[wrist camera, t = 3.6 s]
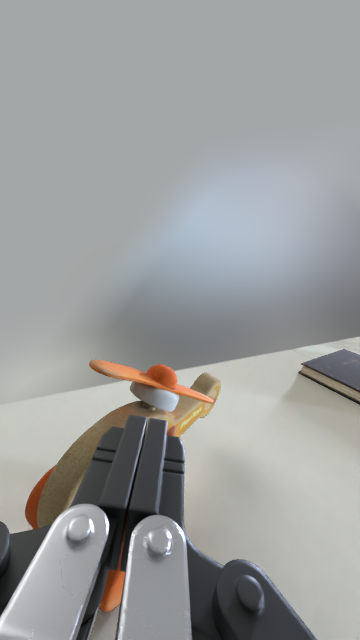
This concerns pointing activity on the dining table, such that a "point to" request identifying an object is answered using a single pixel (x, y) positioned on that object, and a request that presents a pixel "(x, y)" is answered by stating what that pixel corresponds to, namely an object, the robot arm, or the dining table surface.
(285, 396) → the dining table surface
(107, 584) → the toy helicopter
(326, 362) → the hardcover book
